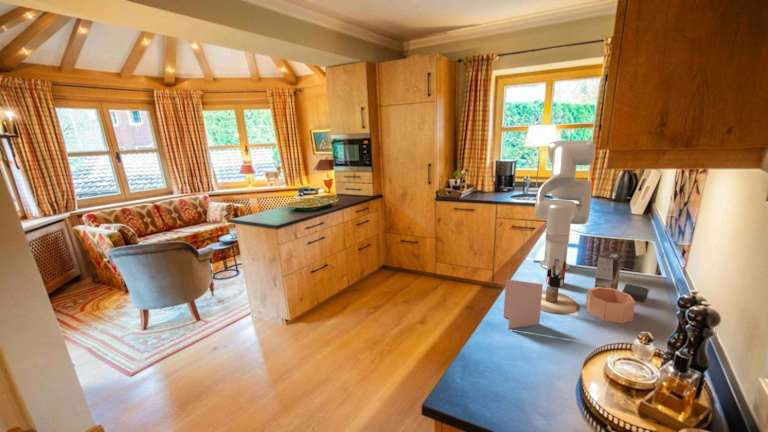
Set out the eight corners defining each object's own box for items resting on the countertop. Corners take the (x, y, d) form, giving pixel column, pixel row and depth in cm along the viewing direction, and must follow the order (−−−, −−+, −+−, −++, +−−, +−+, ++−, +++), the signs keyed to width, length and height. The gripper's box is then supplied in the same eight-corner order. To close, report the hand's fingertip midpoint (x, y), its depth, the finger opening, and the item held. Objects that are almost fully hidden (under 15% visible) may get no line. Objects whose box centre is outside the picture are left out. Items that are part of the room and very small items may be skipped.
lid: (526, 289, 136) (527, 276, 134) (573, 295, 130) (574, 281, 128) (527, 309, 120) (528, 295, 119) (580, 317, 114) (582, 302, 113)
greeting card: (539, 323, 112) (542, 283, 108) (539, 335, 105) (543, 292, 102) (503, 317, 116) (505, 278, 113) (501, 328, 110) (504, 287, 106)
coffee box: (612, 299, 127) (617, 260, 123) (593, 294, 131) (597, 256, 127) (617, 291, 133) (622, 253, 129) (599, 286, 137) (603, 250, 134)
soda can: (566, 288, 136) (568, 261, 134) (548, 287, 138) (550, 261, 135) (560, 282, 143) (563, 256, 140) (544, 281, 144) (546, 255, 141)
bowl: (583, 302, 125) (585, 285, 123) (624, 307, 120) (626, 290, 119) (590, 319, 113) (592, 301, 112) (636, 326, 108) (639, 307, 107)
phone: (648, 288, 134) (644, 301, 123) (648, 290, 134) (643, 303, 123) (626, 283, 139) (620, 295, 128) (625, 285, 139) (619, 297, 128)
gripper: (543, 231, 128) (540, 272, 132) (547, 243, 112) (543, 289, 116) (565, 232, 125) (561, 274, 129) (572, 245, 110) (567, 292, 113)
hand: (553, 281), depth 122 cm, fingers open, 9 cm apart
